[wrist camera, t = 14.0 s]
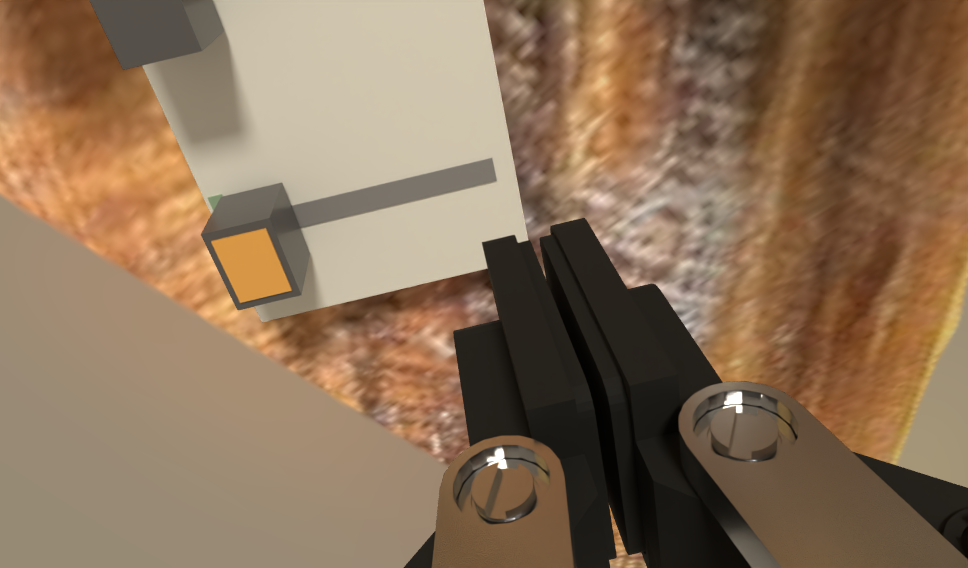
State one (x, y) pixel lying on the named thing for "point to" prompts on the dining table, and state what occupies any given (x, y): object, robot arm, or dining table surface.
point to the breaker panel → (354, 135)
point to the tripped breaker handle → (257, 246)
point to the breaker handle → (157, 28)
